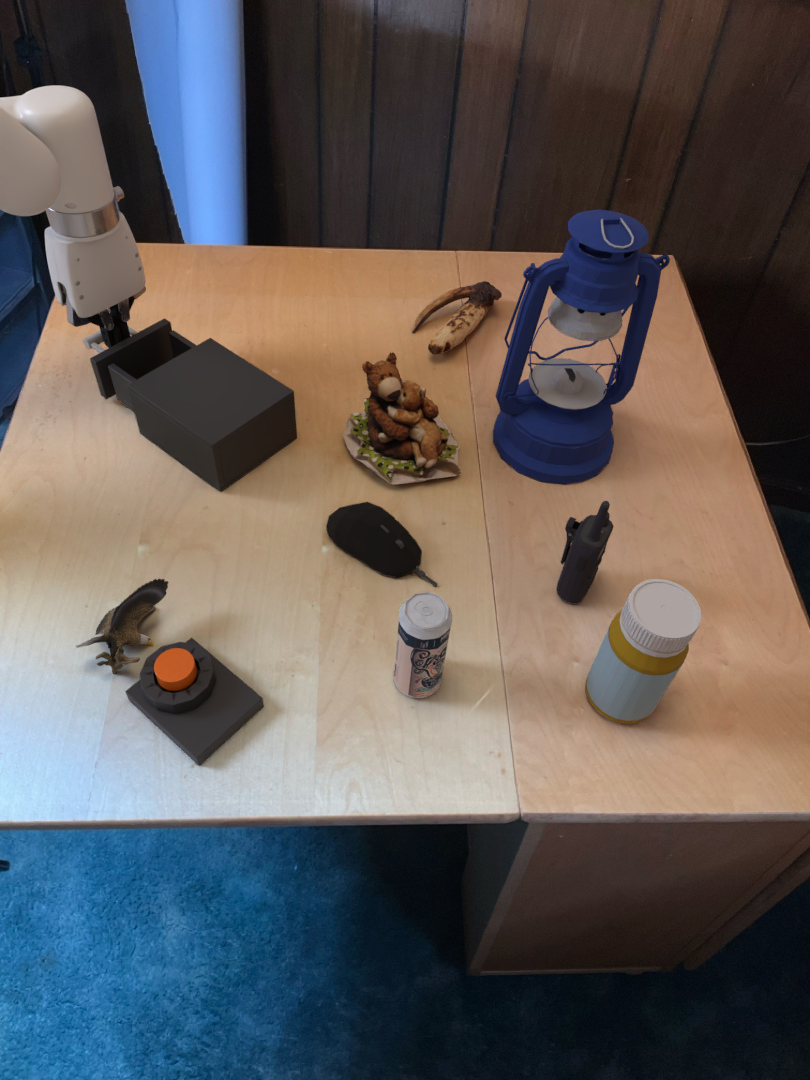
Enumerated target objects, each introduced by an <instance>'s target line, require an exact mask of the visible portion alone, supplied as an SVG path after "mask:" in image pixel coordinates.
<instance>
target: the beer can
mask: <svg viewBox="0 0 810 1080" xmlns="http://www.w3.org/2000/svg"><path fill="white" fill-rule="evenodd" d="M397 616H398V625H397V636H396V649H395V660H394V669H393V673H392V677H393V678H392V679H393V682H394V685H395V686H396V688H397V690H398V691H399V692H401V694H403V695H405V696H407V697H409V698H413V699H425V698H428V697H430V696H432V695H433V694H435V693H436V692H437V691H438V690H439V688H440V687H441V685H442V681H443V679H442V678H443V673H444V672H443V671H444V666H445V660H446V656H447V650H448V644H449V638H450V632H451V627H452V624H453V616H454V615H453V611H452V609H451V607H450V605H449V604H448V603H447V602H446V601H445V600H444V598H443V597H442V596H441V595H438V594H436V593H433V592H431V591H423V592H416V593H413V595H411V596H410V597H408V598H406V599H405V601H404V602H403V603H402V604H401V606H400V607H399V610H398V615H397Z"/></svg>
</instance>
